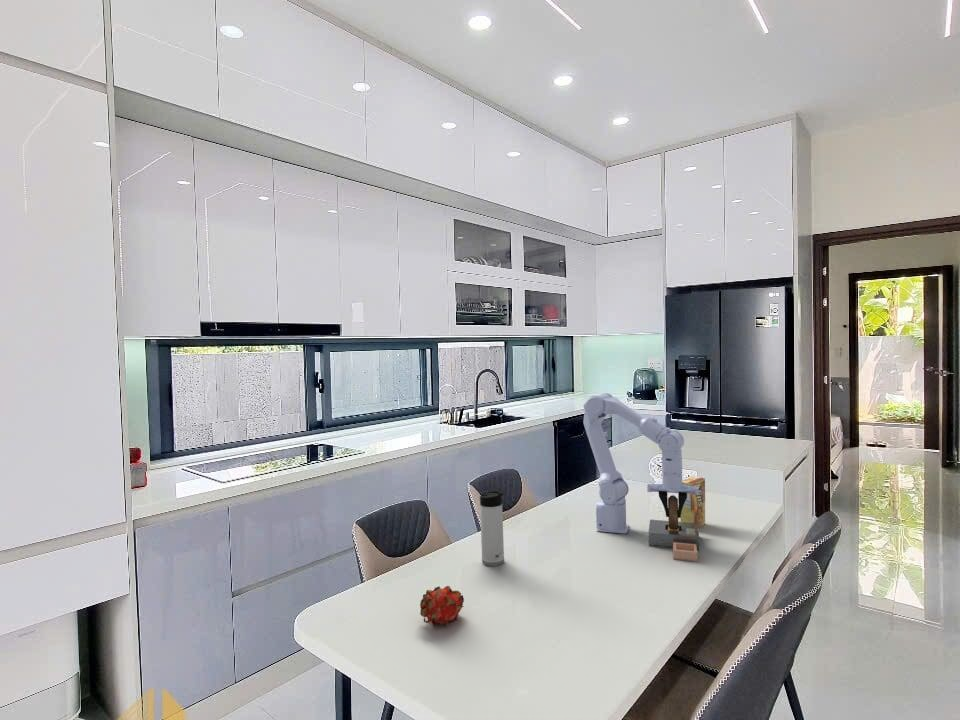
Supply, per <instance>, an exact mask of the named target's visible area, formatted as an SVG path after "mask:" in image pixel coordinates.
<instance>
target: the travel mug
mask: <svg viewBox="0 0 960 720" xmlns="http://www.w3.org/2000/svg"><path fill="white" fill-rule="evenodd" d="M503 496H504V492H503V491H500V490H499V491H498V490H494V491H492V490H491V491H487V492H484V493H482V494H481V495H479V511H480V512H479V513H480V514H479V515H480V516H479V517H480V538H481V540H480V541H481V542H480V543H481V545H480V546H481V562H482V564H483V565H484V566H487V567H498V566H501V565H503V564H504V563H505V551H504V550H505V548H504V543H505V542H504V523H503V522H504V521H503V519H504V518H503V517H504V516H503V501H502V500H503V499H502V498H503Z"/></svg>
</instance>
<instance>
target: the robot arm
mask: <svg viewBox="0 0 960 720" xmlns="http://www.w3.org/2000/svg"><path fill="white" fill-rule="evenodd" d="M583 409H584V412H583V413H584V414H583V421H582V423H583V426H584V429H585V433H586V436H587V439H588V441H589V445H590V448H591V451H592V454H593V456H594V460H595V464H596V465H597V469H598V471H599V477H598V486H599V490H598V493H599V498H600V500H597V502H596V506H595V507H596V508H595V515H596V517H595V518H596V521H595V523H596V529H595V530H596V532H603V533H605V532H606V533H613V534H627V533H628V530H629V526H630V525H629V524H628V523H627V503H626V502H627V500H626V496H628V494H629V491H630V490H629V485H628V482H626V480H625V479H624V478H623V476H622V474H621V473H620V472H619V471H618V470H617V469H616V465H615V462H614V460H613V456H612V454H611V453H612V452H611V450H610V447H609V445H608V441H607V438H606V435H605V432H604V429H603V426H602V423H603V421H604V419H605V418H606V416H607V415H617V416H619V417H620V418H622V419H624V420H626V421H627V422H629V423H630V424H633V425H634V426H636V427H637V428H638V431H639V433H640V434H642V435H643V436H644V437H646V438H647V439H649V440H650V441H651V442H653V443H655V444H657V445H658V447H659V449H660V451H661V471H662V473H661V475H662V476H661V478H662V482H661V483H656V484H655V483H653V484H651V483H650V484H649V483H648V484H647V489H646V490H647V493H652V492H655V493H658V497H659V500H660V501H661V503H662V506H663V509H664V511H665V512H664V513H665V517H666V518H668V517H669V516H668V498H669V497H668V493H669V494H678V495H677V496H678V497H677V499H678V519H681V512H682V508H683V505H684V503H685V501H686V499H687V494H695V495H699V489H698V487H693V486H686V485H683V483H682V480H683V457H682V456H683V455H682V454H683V453H682V452H683V451H682V448H683V446H684V444H685V439H684V436H683V435H682V434H681V433H680V432H679V431H677V430H672V429H671V428H670V426H669V427H666V426H665V425H663V424H661V423H659V422H658V418H655V417H653V418H652V417H644V416H642V415H640V414H639V413H638V412H637V411H635V410H633V408H630V407H629V406H627V405H626V404H625V403H624V402H622V401H621V400H620V399H618V398H617V397H616V396H613V395H612V394H610V393H609V392H604V393H600V394H598V395H591V396H589V397H588V398H587V399H586V401H585V402H584V404H583Z"/></svg>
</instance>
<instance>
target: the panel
mask: <svg viewBox="0 0 960 720" xmlns="http://www.w3.org/2000/svg"><path fill="white" fill-rule="evenodd" d="M668 527H669V520H663V519H662V520H660V519H649V526H648V547H656V548H657V547H658V548H668V549H673V542H676V543H687V544H696V546H697V552H698V551H699V552H700V551H701V550H700V532H699V527H698V523H688V522H681V521H678V527H679V531H674V530H668Z"/></svg>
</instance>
